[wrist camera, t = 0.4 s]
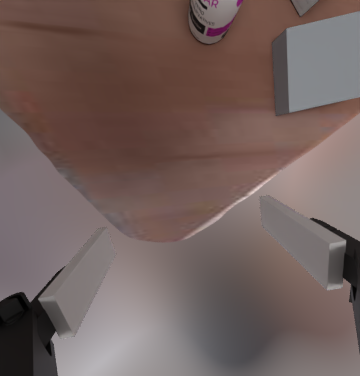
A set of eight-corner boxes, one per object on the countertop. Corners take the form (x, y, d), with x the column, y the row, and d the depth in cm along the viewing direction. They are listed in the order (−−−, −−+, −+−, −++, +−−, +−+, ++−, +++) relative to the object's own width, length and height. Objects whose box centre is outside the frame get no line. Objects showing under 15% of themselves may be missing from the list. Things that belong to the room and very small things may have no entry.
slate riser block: (270, 43, 35) (286, 28, 30) (339, 27, 34) (366, 9, 30) (274, 116, 39) (289, 112, 34) (336, 102, 38) (360, 96, 33)
